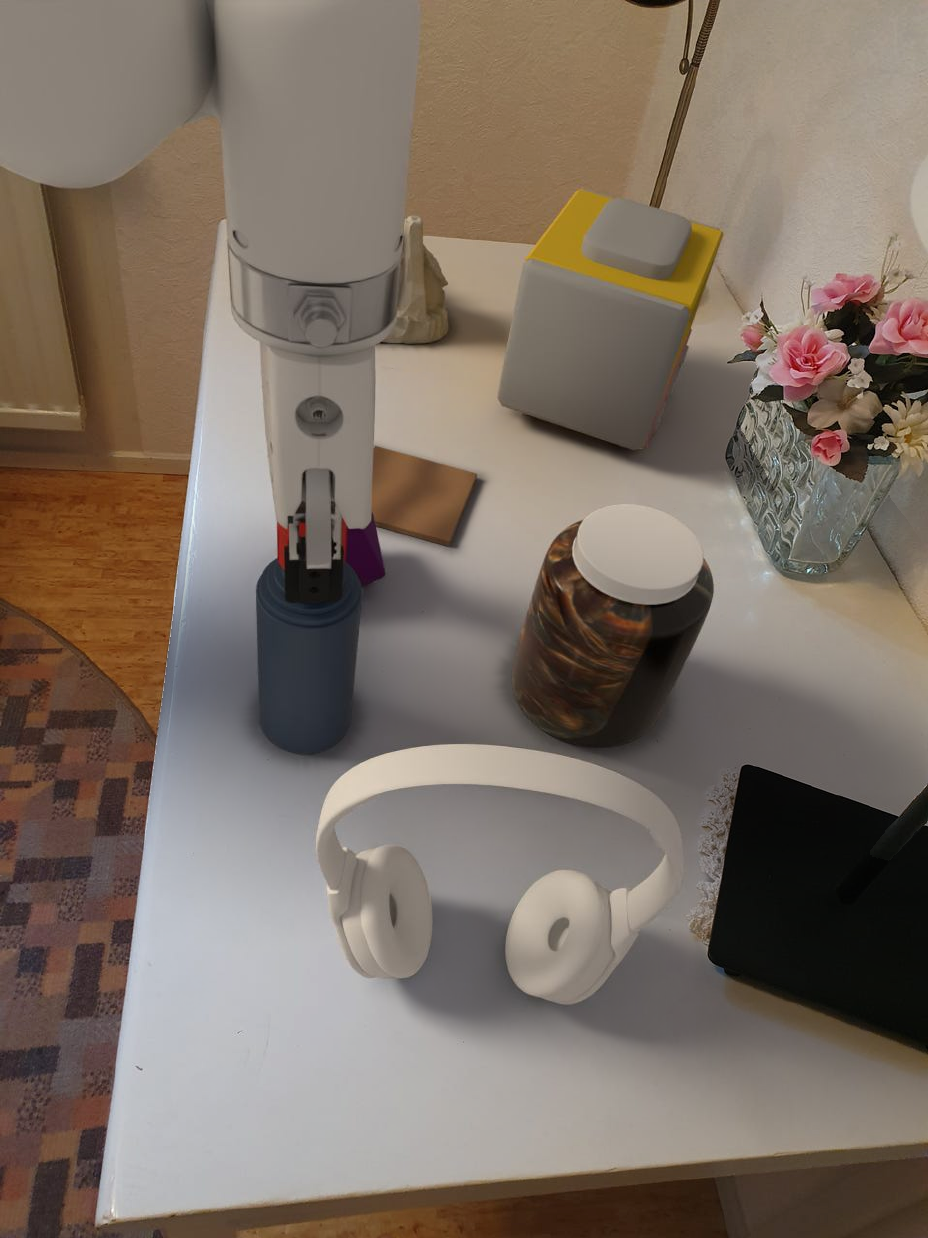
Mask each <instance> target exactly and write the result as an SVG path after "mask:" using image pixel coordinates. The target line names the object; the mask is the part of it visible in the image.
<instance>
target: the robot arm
mask: <svg viewBox="0 0 928 1238" xmlns="http://www.w3.org/2000/svg"><path fill="white" fill-rule="evenodd" d="M421 15H422V14H421V6H420V2H419V0H0V167H2V168H4V169H6V171H10V172H11V173H14V174H16V175H18V176H21V177H23V178H25V179H27V180H30V181H31V182H35V183H39V184H42V185H46V186H52V187H55V188H58V189H91V188H95V187H98V186H101V185H104V184H105V185H106V184H108V183H111V182H113V181H116V180H118V179H120V178H121V177H123V176H124V175H126V174H127V173H128V172H130V171H131V170H133V169H134V168H135V167H137V166H138V165H140V163H142V162H143V161H144V160H145V159H147V157H149V156H150V155H151V154H152V153H154V151H155V150H157V149H158V148H159V147H160V146H161V145H163V143H164V142H165V141H167V139H168V138H170V137H171V136H172V135H173V134H174V133H175V132H176V131H177V130H178V129H179V128H182V127H186V126H188V125H191V124H193V123H196V122H200V121H203V120H205V119H208V118H213V119H215V120H217V121H218V122H219V125H220V126H219V127H220V141H221V142H220V143H221V157H222V173H223V187H224V188H223V189H224V207H225V221H226V236H227V239H226V244H227V245H226V246H227V260H228V278H229V293H230V296H229V297H230V311H231V315H232V317H233V320H234V322H235V323H236V324H237V325H238V327H239V328H240V329H241V330H242V331H243V332H244V333H245V334H247V335H249V336H250V337H251V338H253V339H254V340H256V341H258V342H259V354H260V374H261V390H262V391H261V392H262V407H263V420H264V432H265V433H264V434H265V441H266V452H267V460H268V461H267V462H268V468H269V469H268V470H269V476H270V484H271V492H272V498H273V499H272V500H273V506H274V513H275V519H276V523H277V522H278V523H279V524H280V525H281V526H282V527H284V528H285V529H288V525H289V546H284V566H285V600H286V601H287V602H289V603H315V602H337V601H339V600H341V598H342V581H343V560H344V548H343V546H341V531H342V517H343V519H344V521H345V523H346V525H347V527H348V528H349V529H356V528H360V529H364V528H365V527H367V526H368V524H369V523H370V522H371V509H372V475H373V451H374V447H375V424H376V423H375V419H376V346H377V345H378V344H380V343H381V342H382V341H383V340H384V339H386V338H387V337H388V336H389V335H390V334H391V332H392V331H393V329H394V327H395V324H396V319H397V304H398V292H399V280H400V269H401V257H402V247H403V235H404V223H405V217H406V210H407V197H408V187H409V186H408V185H409V173H410V163H411V162H410V159H411V148H412V136H413V126H414V125H413V124H414V113H415V104H416V90H417V79H418V68H419V55H420V43H421V20H422V17H421ZM299 523H305V528H306V537H300V538H299Z"/></svg>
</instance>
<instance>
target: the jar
mask: <svg viewBox="0 0 928 1238" xmlns="http://www.w3.org/2000/svg"><path fill="white" fill-rule="evenodd" d="M714 585H715V584H714V577H713V573H712V571H711V568H710V566H709V563H708V562H707V561H706V559H705V558H704V550H703V547H702V545H701V542H700V540H699V539H698V537H697V536H696V534H695V532H693V530H691V529H690V528H689V526H687V525H686V524H685V523H684V522H683V521H681V520H680V519H678V518H676V516H673V515H671V514H670V513H667V512H665V511H663V510H661V509H657V508H654V507H651V506H646V505H641V504H633V503H617V504H610V505H607V506H603V507H600V508H598V509H595V510H594V511H592V512H590V513H589V514H588V515H586V517H585V518H584V519H581V520H578V521H576V522H573V523H572V524H570V525H569V526H567V527H566V528H565V529H563V530H562V531H561V532H560V533H558V534H557V536H555V538H554V539H553V540H552V542H551V543H550V545H549V547H548V549H547V551H546V553H545V555H544V559H543V561H542V564H541V567H540V569H539V573H538V575H537V579H536V583H535V585H534V589H533V592H532V596H531V599H530V603H529V606H528V610H527V613H526V615H525V620H524V623H523V627H522V630H521V634H520V638H519V642H518V645H517V649H516V653H515V656H514V659H513V660H514V661H513V665H512V669H511V688H512V692H513V695H514V698H515V700H516V703H517V704H518V706H519V708H520V710H521V711H522V712H523V713H524V715H525V716H526V717H527V718H528V720H530V721H531V722H532V723H533V724H534V725H535V726H537V727H538V728H539V729H541V730H542V731H543V732H545V733H546V734H549V735H550V736H552V737H554V738H556V739H558V740H561V741H563V742H566V743H569V744H572V745H577V746H580V747H588V748H611V747H617V746H621V745H625V744H628V743H630V742H633V741H635V740H637V739H638V738H640V737H642V736H643V735H644V734H646V733H648V731H649V730H650V729H651V728H652V727H653V726H654V725H655V723H656V722H657V721H658V719H659V717H660V715H661V713H662V711H663V709H664V707H665V705H666V704H667V701H668V699H669V697H670V696H671V693H672V692H673V690H674V688H675V686H676V684H677V681H678V679H679V678H680V675H681V673H682V671H683V669H684V667H685V665H686V663H687V662H688V661H687V660H689V659H688V658H689V657H690V655H691V652H692V650H693V648H694V646H695V644H696V642H697V639H698V637H699V636H700V633H701V632H702V631H701V630H702V628H703V627H704V624H705V621H706V619H707V616H708V614H709V611H710V609H711V606H712V603H713V598H714V594H715V593H714V592H715V586H714Z"/></svg>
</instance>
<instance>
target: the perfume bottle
mask: <svg viewBox="0 0 928 1238" xmlns="http://www.w3.org/2000/svg"><path fill="white" fill-rule="evenodd" d="M345 562H346V563H348V564H349V565H350V566H351V567H352V569H353V570H354V571H355V573H356V575H357V577H358V579H359V581H360V583H361V586H362V589H364V588H366V587H368V586H370V585H372V584H374V583H375V582H378V581H379V580H381V579H384V578H385V577H386V573H387V572H386V568H385V563H384V557H383V554H382V549H381V545H380V539H379V534H378V531H377V526H376V525H375V521H374V516H373V513H372V512H371V522H370V523H369V524H368V526H367V527H365V528H364V529H360V528H356V529H349V528H348V527H347V545H346V560H345Z"/></svg>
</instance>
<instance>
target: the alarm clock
mask: <svg viewBox="0 0 928 1238" xmlns="http://www.w3.org/2000/svg"><path fill="white" fill-rule="evenodd" d="M723 237H724V231H723V230H721V229H720V228H719V227H716V226H713V225H709V224H706V223H702V222H699V221H696V220H692V219H689V218H687V217H685V216H683V215H680V214H678V213H675V212H672V211H668V210H665V209H661V208H658V207H654V206H651V205H647V204H645V203H641V202H637V201H634V200H630V199H626V198H618V197H614V196H611V195H609V194H608V195H607V194H604V193H601V192H597V191H594V190H591V189H588V188H585V187H584V188H579V189H578V190H576V191H575V192H574V193H573V194H572V196H571V197H570V198H569V200H568V201H567V202H566V204H565V205H564V206H563V208H562V209H561V211H559V213H558V214H557V216H556V217H555V219H554V220H553V221H552V222H551V224H550V225H549V227H548V228H546V230H545V231H544V233H543V234H542V235H541V237H540V238H539V240H538V241H537V242H536V244H535V245H534V246H533V248H532V249H531V250H530V251H529V252H528V254H527V256H526V257H525V258H524V262H522V267H521V273H520V277H519V282H518V287H517V293H516V298H515V302H514V307H513V313H512V317H511V318H512V319H511V324H510V328H509V332H508V339H507V342H506V348H505V353H504V357H503V364H502V367H501V374H500V379H499V385H498V390H497V396H496V398H497V400H498V401H499V404H500V405H501V406H502V407H504V408H507V409H510V410H513V411H515V412H519V413H520V414H521V415H524V416H528V415H529V416H531V417H533V418H536V419H539V420H543V421H545V422H549V423H551V424H554V425H557V426H560V427H564V428H567V429H570V430H573V431H575V432H578V433H581V434H585V435H587V436H590V437H593V438H596V439H599V440H602V441H605V442H608V443H610V444H615V445H618V447H620V448H626V449H629V450H633V451H637V450H640V449H641V450H643V451H644V450H647V448H648V446H649V443H650V441H651V438H652V435H653V433H654V434H656V433H657V431H658V428H659V425H660V423H661V420H662V418H663V415H664V413H665V411H666V407H667V406H668V403H669V400H670V398H671V396H672V393H673V390H674V387H675V385H676V382H677V380H678V377H679V374H680V373H681V370H682V367H683V364H684V362H685V359H686V357H687V354H688V351H689V348H690V345H688V343H689V340H690V337H691V335H692V331H693V330H692V326H693V323H694V322H695V318H696V315H697V312H698V309H699V306H700V303H701V300H702V299H703V298H702V297H703V295H704V292H705V288H706V286H707V283H708V280H709V279H710V278H709V277H710V275H711V271H712V268H713V266H714V263H715V260H716V258H717V255H718V251H719V249H720V246H721V242H722V240H723Z"/></svg>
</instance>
